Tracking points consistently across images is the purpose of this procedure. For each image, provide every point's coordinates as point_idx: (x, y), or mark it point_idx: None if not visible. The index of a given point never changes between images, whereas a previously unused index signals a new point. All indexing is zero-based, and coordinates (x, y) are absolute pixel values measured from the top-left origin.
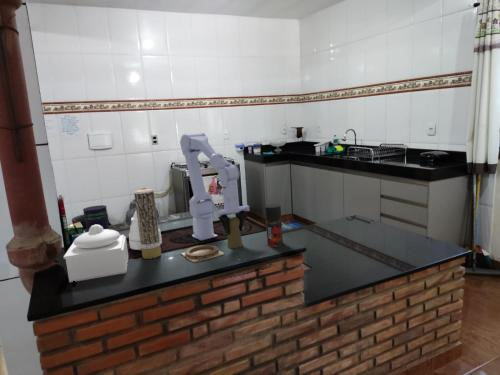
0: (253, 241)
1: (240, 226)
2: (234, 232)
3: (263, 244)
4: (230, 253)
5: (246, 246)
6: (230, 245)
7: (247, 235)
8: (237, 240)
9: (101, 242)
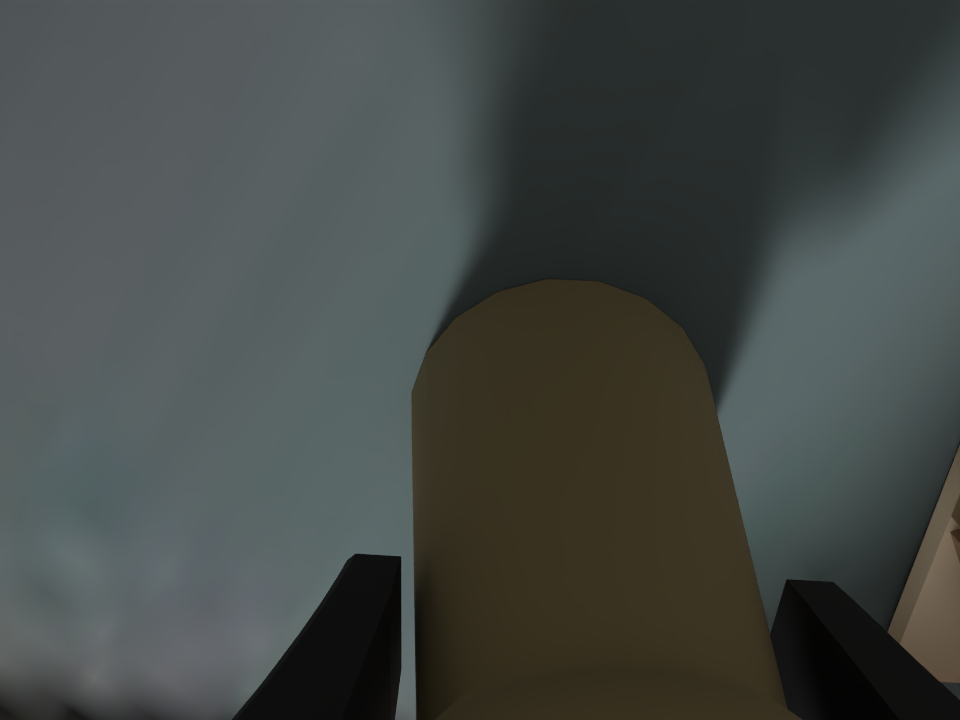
0: (156, 363)
1: (368, 678)
2: (683, 530)
3: (64, 27)
4: (954, 91)
5: (428, 216)
6: (712, 401)
7: (97, 673)
8: (603, 360)
9: None
